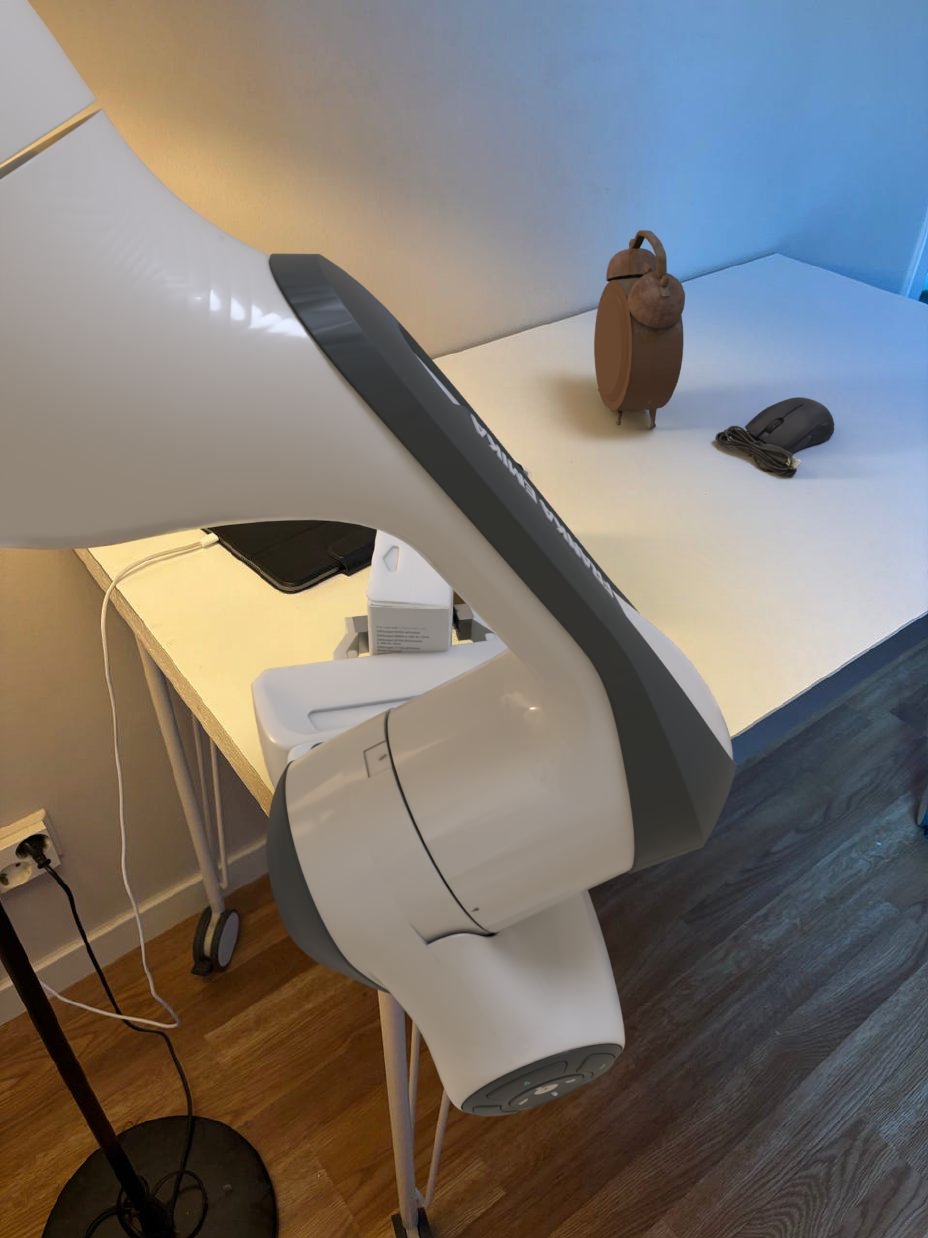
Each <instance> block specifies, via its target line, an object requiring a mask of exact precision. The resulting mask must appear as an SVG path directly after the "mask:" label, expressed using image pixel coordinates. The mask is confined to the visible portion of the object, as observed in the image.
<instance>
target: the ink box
mask: <svg viewBox="0 0 928 1238" xmlns="http://www.w3.org/2000/svg"><path fill="white" fill-rule="evenodd" d="M365 596H366V598H367V603H366V606H367V607H366V609H367V615H368V634H369V652H368V653H369V654H368V656H372V655H380V654H388V653H396V652H442V651H448V650H449V648H450V645H453V625H452V624H453V589H452V588H451V587H450V586H449V585H448V584H447V583H446V582H445V580H444V579H443V578H442V577H441V576H440V575H439V574H438V573H437V572H436V571H435V570H434V569H433V568H432V567H431V566H430V565H429V564H428V563H427V561H426V560H425V559H424V558H422V557H421V556H420V555H419V554H418V553H417V552H416V551H415V550H414V549H413V548H411V547H410V546H409V545H407V544H406V543H404V542H403V541H401V540H399V539H398V538H396V537H394V536H391V535H389V534H387V533H385V532H382V531H380V530H377V529H376V534H375V540H374V550H373V553H372V558H371V567H370V572H369V575H368V580H367V588H366V592H365Z"/></svg>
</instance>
